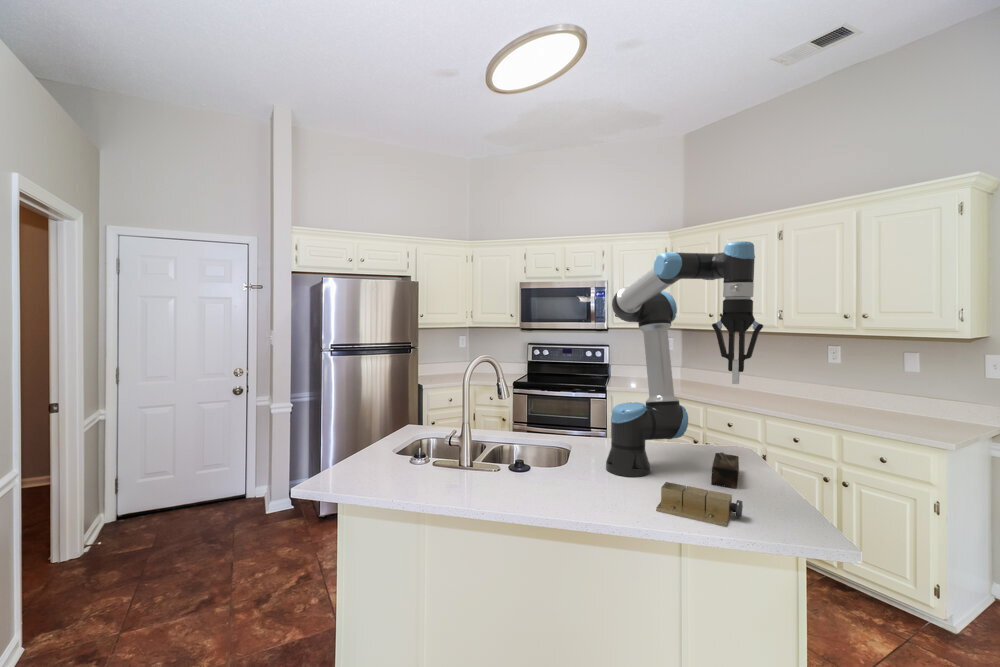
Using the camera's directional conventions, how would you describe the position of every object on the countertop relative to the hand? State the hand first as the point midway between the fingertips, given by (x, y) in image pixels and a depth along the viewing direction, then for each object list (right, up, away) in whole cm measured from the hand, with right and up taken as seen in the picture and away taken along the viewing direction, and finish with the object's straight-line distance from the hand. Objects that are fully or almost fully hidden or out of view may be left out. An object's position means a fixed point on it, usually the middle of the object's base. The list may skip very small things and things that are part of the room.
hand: (735, 383), depth 134 cm
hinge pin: (-8, -36, +2) cm, 37 cm away
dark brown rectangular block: (+11, -36, +29) cm, 47 cm away
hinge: (-10, -36, +4) cm, 38 cm away
